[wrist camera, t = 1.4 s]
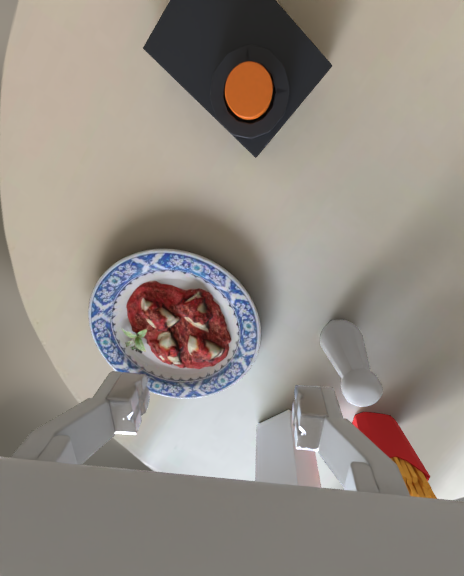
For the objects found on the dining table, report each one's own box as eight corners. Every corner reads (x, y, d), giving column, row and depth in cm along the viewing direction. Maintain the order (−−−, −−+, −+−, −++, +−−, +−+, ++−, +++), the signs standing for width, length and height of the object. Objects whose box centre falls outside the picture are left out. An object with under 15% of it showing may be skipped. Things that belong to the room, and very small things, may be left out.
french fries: (403, 416, 50) (447, 498, 38) (395, 434, 52) (434, 517, 40) (348, 409, 51) (374, 487, 39) (341, 426, 52) (365, 507, 41)
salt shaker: (309, 334, 45) (326, 400, 33) (334, 306, 43) (361, 366, 31) (339, 353, 46) (367, 423, 34) (366, 326, 44) (404, 392, 32)
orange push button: (218, 97, 27) (215, 93, 25) (247, 55, 26) (246, 48, 24) (250, 130, 28) (250, 128, 26) (281, 91, 27) (283, 87, 25)
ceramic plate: (259, 241, 40) (259, 247, 37) (262, 390, 51) (262, 404, 48) (75, 247, 42) (63, 253, 40) (115, 387, 53) (107, 400, 50)
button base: (161, 64, 33) (135, 41, 26) (220, -34, 29) (208, -90, 22) (256, 156, 36) (255, 158, 29) (321, 78, 32) (337, 60, 25)
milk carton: (311, 433, 54) (335, 566, 36) (278, 447, 56) (286, 579, 39) (289, 408, 52) (303, 537, 35) (255, 424, 54) (253, 553, 37)
